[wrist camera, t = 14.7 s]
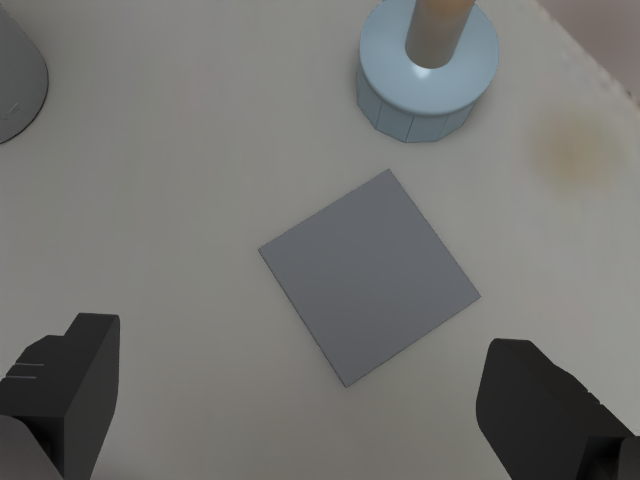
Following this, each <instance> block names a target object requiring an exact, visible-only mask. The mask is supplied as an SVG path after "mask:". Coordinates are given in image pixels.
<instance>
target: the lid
mask: <svg viewBox="0 0 640 480" xmlns="http://www.w3.org/2000/svg"><path fill="white" fill-rule="evenodd" d="M475 1H476V0H383V1H382V2H381V3H380V4H379V5H377V6H376V8H375V9H374V10H373V11H372V12H371V13H370V15H369V16H368V18H367V20H366V22H365V24H364V26H363V29H362V33H361V38H360V46H359V63H360V68H361V72H362V75H363V77H364V79H365V81H366V83H367V85H368V86H369V88H370V89H371V90H372V92H373V93H374V94H375V95H376V96H377V97H378V98H379V99H380V100H381V101H382V102H384V103H385V104H387V105H388V106H389V107H391V108H393V109H395V110H397V111H399V112H402V113H404V114H407V115H411V116H415V117H421V118H439V117H445V116H449V115H453V114H455V113H458V112H460V111H462V110H464V109H466V108H468V107H469V106H471V105H472V104H474V103H475V102H476V101H477V100H478V99H479V98H480V97H481V96H482V94H483V93H484V92H485V90H486V89H487V87H488V85H489V84H490V82H491V80H492V78H493V77H494V75H495V72H496V70H497V66H498V62H499V53H500V51H499V42H498V37H497V34H496V31H495V29H494V27H493V25H492V23H491V21H490V20H489V18H488V17H487V16H486V14H485V13H484V12H483V11H482V10H481V9H480V8H479V7H478V6H477V5H475V4H474V3H475Z"/></svg>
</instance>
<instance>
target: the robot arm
mask: <svg viewBox="0 0 640 480" xmlns="http://www.w3.org/2000/svg"><path fill="white" fill-rule="evenodd" d="M47 85H48V80H47V69H46V66H45V63H44V59H43V58H42V56H41V55H40V53H39V51H38V50H37V48H36V47H35V46H34V45H33V43H32V42H31V41H30V40H29V39H28V37H27V36H26V35H25V34H24V32H23V31H22V30H21V29H20V28H19V26H18V25H17V24H16V23H15V21H14V20H13V19H12V18H11V17H10V15H9V14H8V13H7V11H6V10H5V9H4V8H3V6H2V5H1V4H0V143H1V142H4V141H6V140H8V139H10V138H11V137H13V136H14V135H16V134H17V133H19V132H20V131H22V130H23V129H24V128H25V127H26V126H27V125H28V124H29V123H30V122H31V121H32V120H33V118H34V117H35V115H36V114H37V112H38V111H39V110H40V108H41V105H42V103H43V101H44V98H45V95H46V90H47ZM119 346H120V319H119V316H118V315H111V314H95V313H79V314H78V315H77V316H76V318H75V320H74V321H73V323H72V324H71V326H70V327H69V329H68V330H67V332H66V333H65V335H64V336H55V335H47V336H45V337H44V338H42V339H40V340H39V341H37V342H35V343H33V344H32V345H30V346H28V347H27V348H26V349H25V350H24V352H23V353H22V354H21V356H20V357H19V358H18V359H17V361H16V362H15V365H13V366H12V367H11V369H10V370H9V371H8V373H7V374H6V377H5V378H3V379H2V380H1V382H0V480H89V479H90V476H91V474H92V471H93V468H94V466H95V463H96V460H97V458H98V455H99V452H100V450H101V447H102V444H103V442H104V439H105V436H106V434H107V431H108V428H109V426H110V423H111V420H112V418H113V415H114V411H115V407H116V401H117V395H118V383H119ZM476 417H477V422H478V425H479V428H480V429H481V431H482V433H483V434H484V436H485V437H486V439H487V441H488V442H489V444H490V445H491V447H492V449H493V450H494V452H495V453H496V455H497V456H498V458H499V460H500V461H501V463H502V464H503V466H504V467H505V469H506V471H507V472H508V474H509V475H510V477H511V479H512V480H640V436H635V435H634V434H633V433H632V432H631V431H630V430H629V429H628V428H627V427H626V426H625V425H624V424H623V423H622V422H621V421H619V420H618V419H617V418H616V417H615V416H614V415H613V414H612V413H611V412H610V411H609V410H608V409H607V408H606V407H605V406H604V405H603V404H600V401H599V400H598V399H597V398H596V397H595V396H594V395H593V394H592V393H588V390H587V389H586V388H585V387H584V386H583V385H582V384H581V383H580V382H579V381H578V380H577V379H576V378H575V377H574V376H573V375H571V374H569V373H568V372H566V371H564V370H563V369H561V368H559V367H558V366H556V365H554V364H553V363H552V362H551V361H550V360H549V359H548V358H547V357H546V356H545V355H544V354H543V353H542V352H541V351H540V350H539V349H538V348H537V347H536V346H535V345H534V344H533V343H532V342H531V341H529V340H516V339H500V338H496V339H494V340H493V341H492V342H491V344H490V346H489V348H488V352H487V357H486V361H485V365H484V369H483V374H482V378H481V382H480V387H479V391H478V395H477V400H476Z"/></svg>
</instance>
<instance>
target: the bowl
mask: <svg viewBox="0 0 640 480" xmlns="http://www.w3.org/2000/svg"><path fill="white" fill-rule="evenodd" d="M356 83H357V96H358V105H359V107H360V108H361V109H362V111H363V112H364V114H365V115H366V116H367V118H368V119H369V120H370V122H371V123H372V125H373V126H374V127H375V129H377V130H379V131H381V132H383V133H385V134H387V135H389V136H392V137H394V138H396V139H398V140H400V141H402V142H405V143H408V142H431V141H438V140H439V139H441V138H443V137H444V136H446V135H448V134H449V133H451V132H452V131H454V130H456V129H457V128H459V127H461V126H462V125H463V123H464V122H465V120H466V118H467V116H468V114H469V113H470V111H471V109H472V107H473V105H474V104H472V105H471V106H469V107H468V108H466V109H464V110H462V111H460V112H458V113H455V114H453V115H449V116H445V117H439V118H421V117H415V116H411V115H407V114H404V113H402V112H399V111H397V110H395V109H393V108H391V107H389V106H388V105H387V104H385V103H384V102H382V101H381V100H380V99H379V98H378V97H377V96H376V95H375V94H374V93H373V92H372V90H371V89H370V88H369V86H368V85H367V83H366V81H365V79H364V77H363V75H362V72H361V68H360V63H359V58H358V66H357V74H356Z"/></svg>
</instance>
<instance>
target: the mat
mask: <svg viewBox="0 0 640 480" xmlns="http://www.w3.org/2000/svg"><path fill="white" fill-rule="evenodd" d="M258 250H259V252H260V254H261V255H262V257H263V258H264V260H265V261H266V263H267V265H268V266H269V268H270V269H271V271H272V272H273V274H274V276H275V277H276V279H277V280H278V282H279V283H280V285H281V287H282V288H283V290H284V291H285V293H286V294H287V296H288V298H289V299H290V301H291V302H292V304H293V305H294V307H295V309H296V310H297V312H298V313H299V315H300V316H301V318H302V320H303V321H304V323H305V324H306V326H307V327H308V329H309V331H310V332H311V334H312V335H313V337H314V338H315V340H316V342H317V343H318V345H319V346H320V348H321V349H322V351H323V353H324V354H325V356H326V357H327V359H328V360H329V362H330V364H331V365H332V367H333V368H334V370H335V371H336V373H337V375H338V376H339V378H340V379H341V381H342V382H343V384H344V386H345V387H348V386H349V385H350V384H352V383H353V382H355V381H356V380H358V379H359V378H361V377H362V376H364V375H365V374H367V373H368V372H370V371H371V370H373V369H374V368H376V367H377V366H379V365H380V364H382V363H383V362H385V361H386V360H388V359H389V358H391V357H392V356H394V355H395V354H397V353H398V352H400V351H401V350H403V349H404V348H405V347H407V346H408V345H410V344H411V343H413V342H414V341H416V340H417V339H419V338H420V337H422V336H423V335H425V334H426V333H428V332H429V331H431V330H432V329H434V328H435V327H437V326H438V325H440V324H441V323H443V322H444V321H446V320H447V319H449V318H450V317H452V316H453V315H455V314H456V313H458V312H459V311H460V310H462V309H463V308H465V307H466V306H468V305H469V304H471V303H472V302H474V301H475V300H477V299H478V298H480V297H481V295H480V294H479V292H478V291H477V290H476V288H475V287H474V286H473V284H472V283H471V281H470V280H469V279H468V277H467V276H466V274H465V273H464V272H463V270H462V269H461V268H460V266H459V265H458V263H457V262H456V261H455V259H454V258H453V256H452V255H451V254H450V252H449V251H448V250H447V248H446V247H445V245H444V244H443V243H442V241H441V240H440V238H439V237H438V236H437V234H436V233H435V232H434V230H433V229H432V227H431V226H430V225H429V223H428V222H427V220H426V219H425V218H424V216H423V215H422V214H421V212H420V211H419V209H418V208H417V207H416V205H415V204H414V202H413V201H412V200H411V198H410V197H409V196H408V194H407V193H406V191H405V190H404V189H403V187H402V186H401V184H400V183H399V182H398V180H397V179H396V178H395V176H394V175H393V173H392V172H391V171H390V169H388V170H386V171H385V172H383V173H381V174H380V175H378V176H376V177H375V178H373V179H371V180H370V181H368V182H367V183H365V184H363V185H362V186H360V187H358V188H357V189H355V190H354V191H352V192H350V193H349V194H347V195H345V196H344V197H342V198H341V199H339V200H337V201H336V202H334V203H332V204H331V205H329V206H328V207H326V208H324V209H323V210H321V211H319V212H318V213H316V214H315V215H313V216H311V217H310V218H308V219H306V220H305V221H303V222H302V223H300V224H298V225H297V226H295V227H293V228H292V229H290V230H289V231H287V232H285V233H284V234H282V235H280V236H279V237H277V238H276V239H274V240H272V241H271V242H269V243H267V244H266V245H264V246H262V247H261V248H259V249H258Z"/></svg>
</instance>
